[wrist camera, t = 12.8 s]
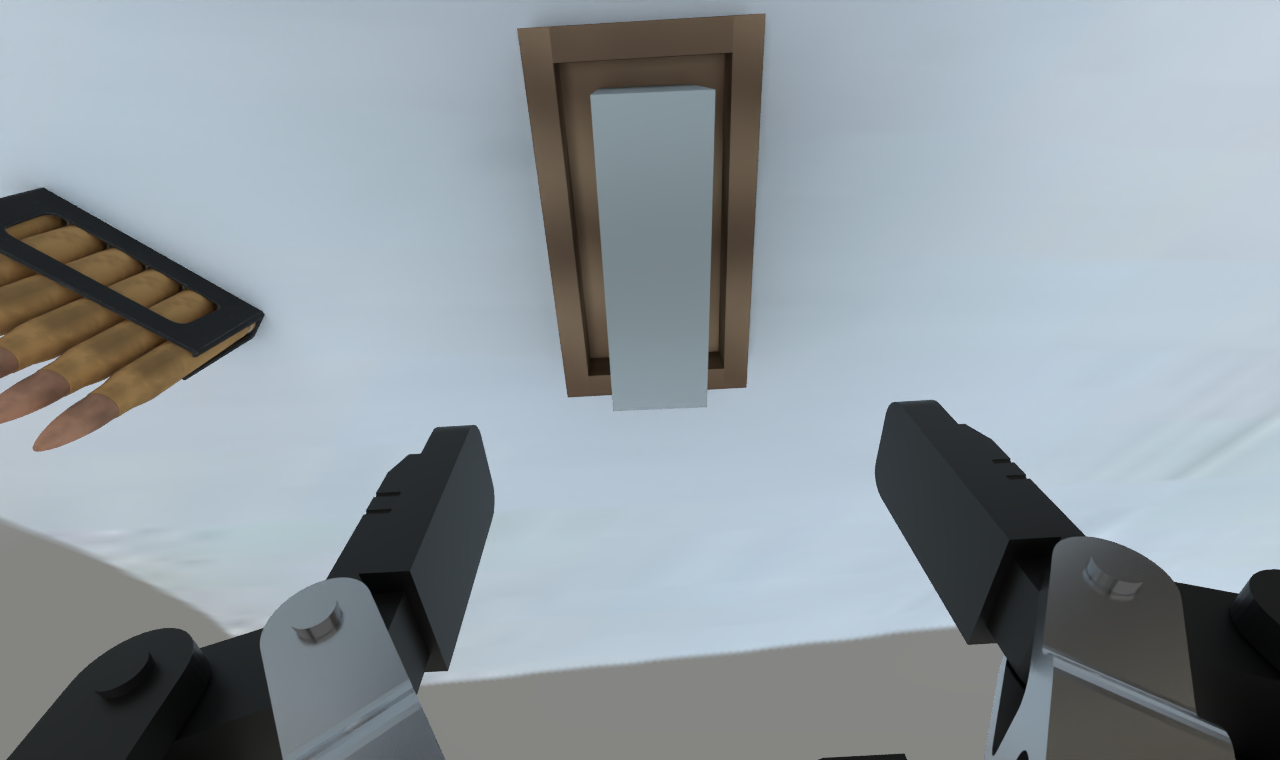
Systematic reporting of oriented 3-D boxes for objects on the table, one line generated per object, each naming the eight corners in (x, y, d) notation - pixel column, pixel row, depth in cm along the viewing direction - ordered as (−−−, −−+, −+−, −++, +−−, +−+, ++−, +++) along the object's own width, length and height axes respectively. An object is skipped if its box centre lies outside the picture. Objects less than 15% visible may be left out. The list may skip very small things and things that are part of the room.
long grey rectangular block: (599, 87, 24) (590, 94, 18) (692, 84, 24) (715, 89, 18) (616, 340, 30) (613, 410, 23) (690, 337, 30) (706, 406, 23)
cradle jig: (530, 33, 24) (517, 28, 21) (749, 19, 24) (765, 13, 21) (573, 368, 32) (567, 397, 29) (735, 359, 32) (746, 387, 29)
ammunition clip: (266, 313, 30) (71, 446, 19) (253, 338, 30) (59, 478, 20) (41, 186, 26) (-344, 264, 16) (33, 217, 27) (-340, 311, 17)
